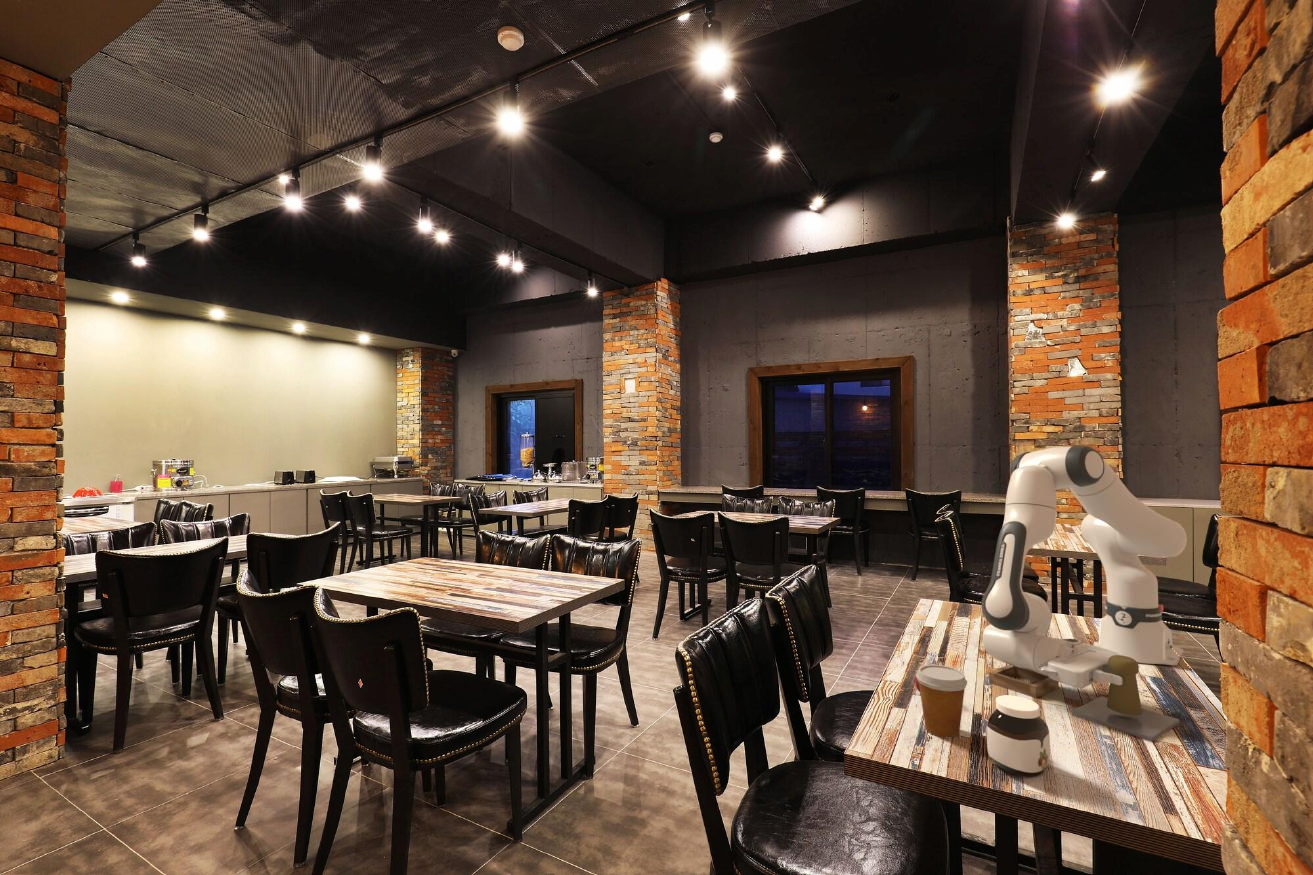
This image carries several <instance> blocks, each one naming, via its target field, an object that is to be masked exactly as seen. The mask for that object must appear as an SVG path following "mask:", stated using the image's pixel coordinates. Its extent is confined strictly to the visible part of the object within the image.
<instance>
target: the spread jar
mask: <svg viewBox="0 0 1313 875" xmlns="http://www.w3.org/2000/svg"><path fill="white" fill-rule="evenodd" d="M985 736H986V744H987V745H986V747H987V748H986V749H987V753H988V757H989V759H991V761H992V762H993V763H994V764H995V765H997V766H998V767H999V768H1000V769H1002V770H1003V771H1005V772H1006V773H1009V774H1011V775H1015V776H1017V777H1022V778H1023V777H1024V778H1035V777H1036V778H1037V777H1038V776H1040V775H1042V774H1043V773H1044V772H1045V770H1046V769H1047V768H1048V765H1049V763H1050V757H1051V741H1050V739H1051V738H1050V729H1049V726H1048V724H1047V722H1046V721H1045V720H1044V719H1043V718H1042V717H1041V716H1040V706H1039V704H1038V703H1036V702H1035V701H1033V700H1031V699H1029V698H1025V697H1022V696H1018V695H1009V694H1007V695H1006V694H1004V695H999V696H997V697H996V698H995V709H994V711H993V712H992V713H991V714H990V716H989V717H988V720H987V725H986V727H985Z"/></svg>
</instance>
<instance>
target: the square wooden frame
mask: <svg viewBox="0 0 1313 875" xmlns="http://www.w3.org/2000/svg"><path fill="white" fill-rule="evenodd" d="M1014 677H1016V678H1014ZM1017 677H1018V678H1021V679H1024V680H1027V681H1030V682H1032V683H1030V682H1026V681H1023V680H1020V679H1017ZM1033 682H1034V683H1033ZM988 683H989V684H992V685H996V686H999V687H1002V688H1004V689H1007V690H1010V691H1013V692H1016V693H1019V694H1023V695H1026V696H1029V697H1032V698H1035V699H1036V698H1039V697H1041V696H1043V695H1045V694H1048V693H1049V692H1052V691H1054V690H1056V689H1058V688H1060V684H1059V683H1060V682H1058V681H1056V680H1053V679H1051V678H1050V677H1049V676H1046V675H1042V674H1039V673H1037V672H1035V671H1033V670H1031V669H1027V668H1019V667H1015V666H1012V665H1009V664H1007V665H1004V666H1002V667H999V668H997V669H994V670H991V671H989V672H988Z"/></svg>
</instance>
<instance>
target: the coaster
mask: <svg viewBox="0 0 1313 875" xmlns="http://www.w3.org/2000/svg"><path fill="white" fill-rule="evenodd" d="M1107 700H1108V697H1106V696H1104V695H1103V696H1102V695H1101V696H1099V697H1096V698H1095V699H1093V700H1091V701H1089V702H1087V703H1085V704H1083V705H1081V706H1079V707H1077V708H1075V709H1073V710H1072V711H1071V715H1072V716H1074V717H1078V718H1080V719H1083V720H1085V721H1090V722H1093V723H1095V724H1099V725H1101V726H1105V727H1108V728H1111V729H1114V730H1117V731H1119V732H1122V733H1125V734H1128V735H1131V736H1134V737H1138V738H1141V739H1143V740H1146V741H1149V742H1153V741H1155V740H1156V739H1158V738H1160V737H1161V736H1163V735H1164V734H1165V733H1167V732H1169V731H1170V730H1171V729H1173V728H1174V727H1177V726H1178V725H1179V724H1180V719H1179V718H1176V717H1172V716H1169V715H1165V714H1162V713H1159V712H1155V711H1153V710H1149V709H1145V708H1142V714H1141V715H1127V714H1122V713H1119V712H1115V711H1113V710H1111V709H1109V708H1108V707H1107Z"/></svg>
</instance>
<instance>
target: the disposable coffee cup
mask: <svg viewBox="0 0 1313 875" xmlns="http://www.w3.org/2000/svg"><path fill="white" fill-rule="evenodd" d="M917 672H918V673H917ZM917 672H916V673H917V674H916V673H915V676H916V677H917V680H918V682H919V687H920V692H919V694H920V700H921V705H922V712H923V719H924V720H923V721H924V725H925V726H924V727H925V728H924V729H925V730H926V731H927V732H928V733H929V734H931V735H933V736H936V737H939V738H944V739H953V738H958V737H959V736H960V731H961V730H960V729H961V723H962V721H961V720H962V714H963V705H964V695H965V689H966V687H967V685H968V680H967V679H966V677H965V676H966V675H965V674H964V673H963V672H962V671H961V670H959V669H957V668H954V667H952V666H947V665H942V664H931V665H926V664H925V665H921V666H919V668H918V670H917Z"/></svg>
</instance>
